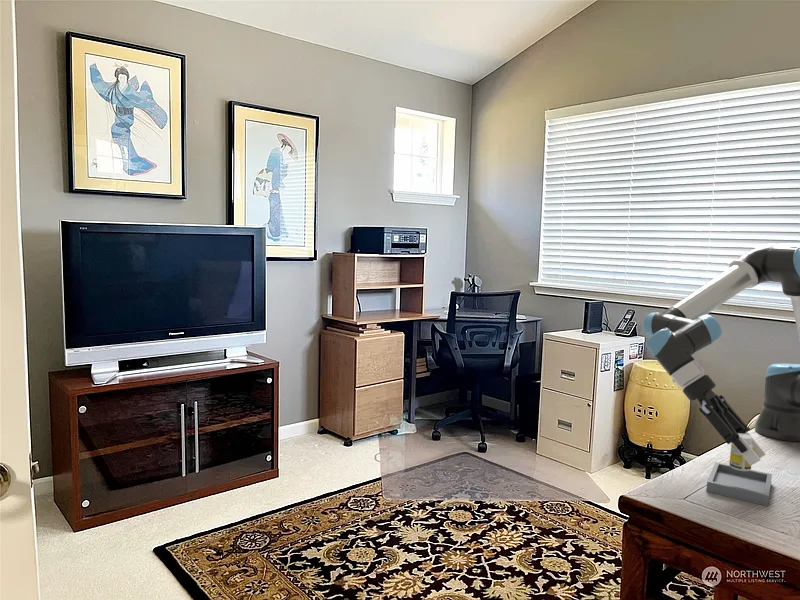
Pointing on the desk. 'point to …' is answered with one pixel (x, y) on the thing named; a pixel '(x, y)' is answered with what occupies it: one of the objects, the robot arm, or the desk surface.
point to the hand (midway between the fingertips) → (758, 459)
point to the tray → (740, 484)
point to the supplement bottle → (736, 458)
